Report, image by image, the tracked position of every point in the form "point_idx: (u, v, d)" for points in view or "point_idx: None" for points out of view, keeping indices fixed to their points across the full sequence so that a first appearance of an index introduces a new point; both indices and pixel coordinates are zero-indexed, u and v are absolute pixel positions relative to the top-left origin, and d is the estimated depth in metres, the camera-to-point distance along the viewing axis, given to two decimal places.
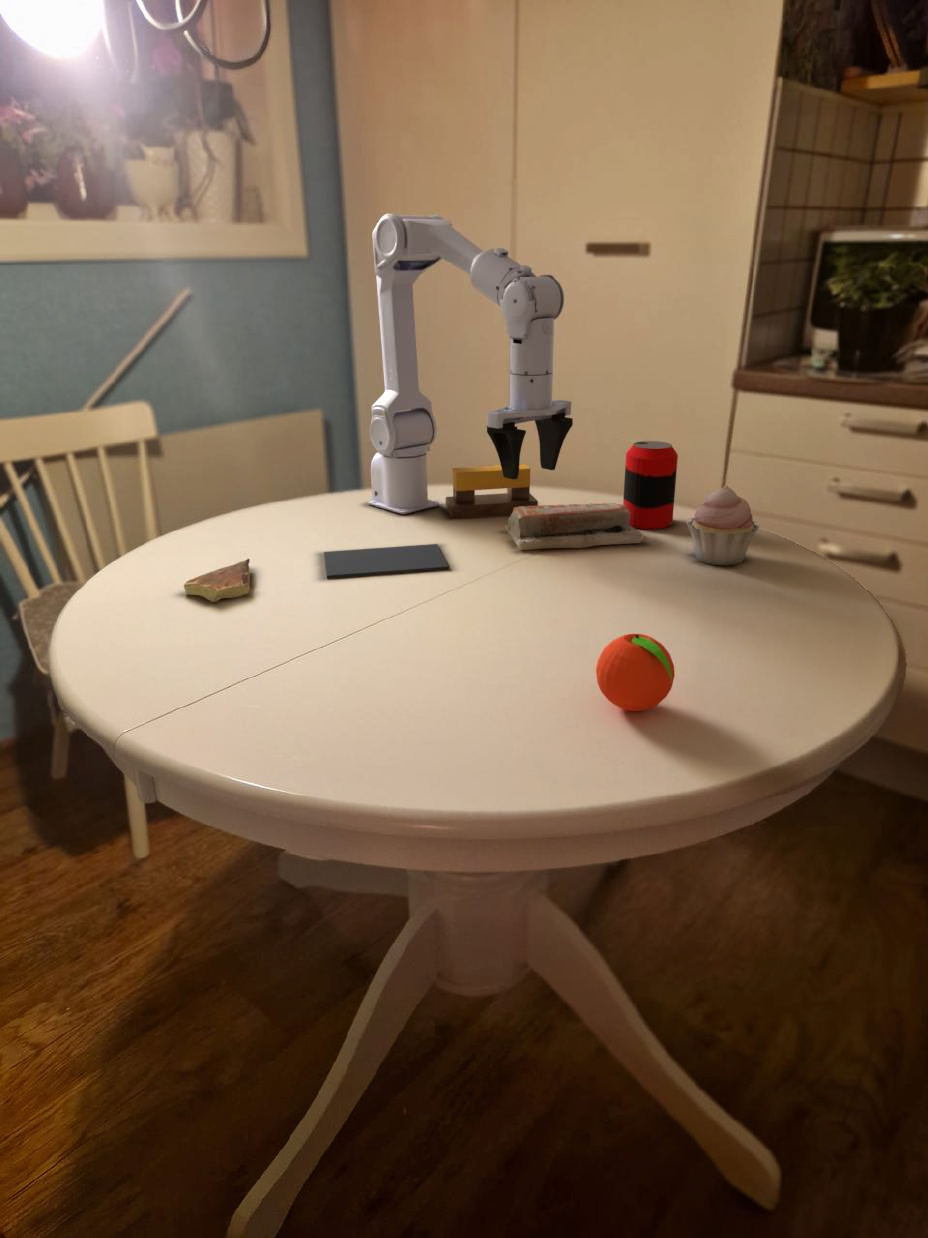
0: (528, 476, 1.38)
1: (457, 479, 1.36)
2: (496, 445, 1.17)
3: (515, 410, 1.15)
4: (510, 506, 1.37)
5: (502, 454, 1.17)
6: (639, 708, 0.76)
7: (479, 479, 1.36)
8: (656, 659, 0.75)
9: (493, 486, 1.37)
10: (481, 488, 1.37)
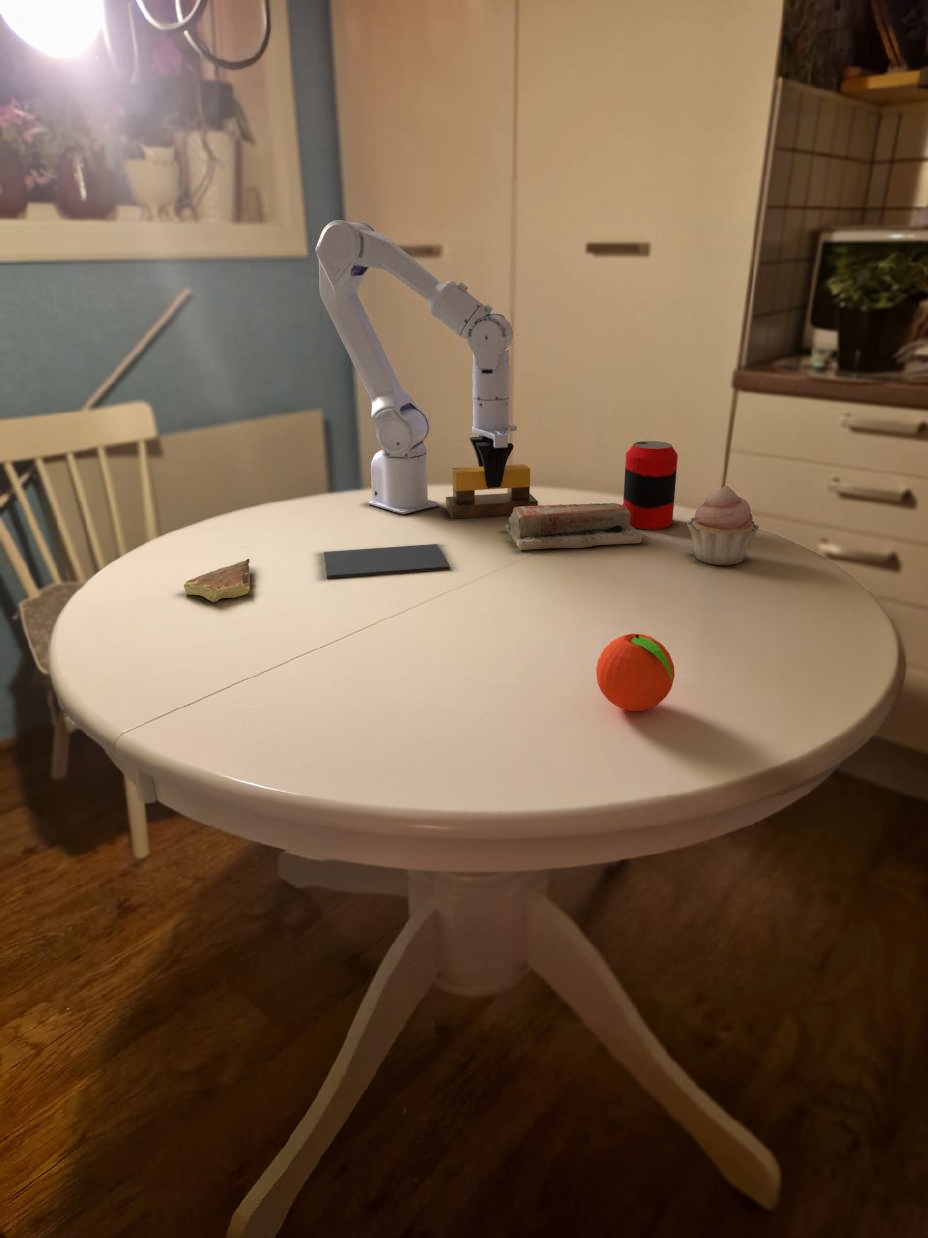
0: (528, 476, 1.38)
1: (457, 479, 1.36)
2: (487, 461, 1.34)
3: (496, 430, 1.32)
4: (510, 506, 1.37)
5: (488, 467, 1.35)
6: (639, 708, 0.76)
7: (479, 479, 1.36)
8: (656, 659, 0.75)
9: None
10: (481, 488, 1.37)
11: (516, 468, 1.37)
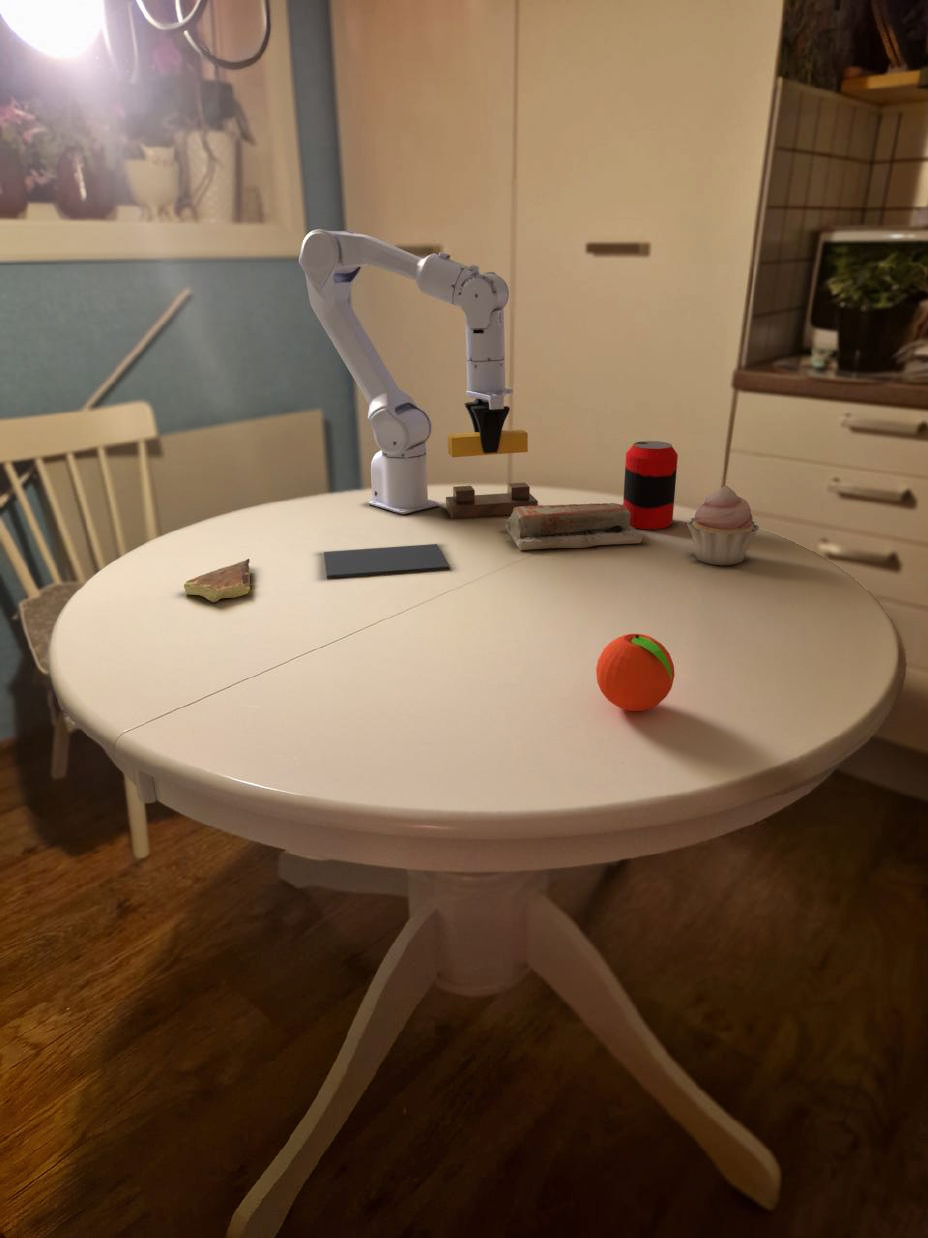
0: (525, 441, 1.34)
1: (452, 445, 1.32)
2: (482, 425, 1.30)
3: (492, 393, 1.28)
4: (510, 506, 1.37)
5: (484, 432, 1.31)
6: (639, 708, 0.76)
7: (475, 444, 1.32)
8: (656, 659, 0.75)
9: None
10: (477, 454, 1.33)
11: (513, 433, 1.33)
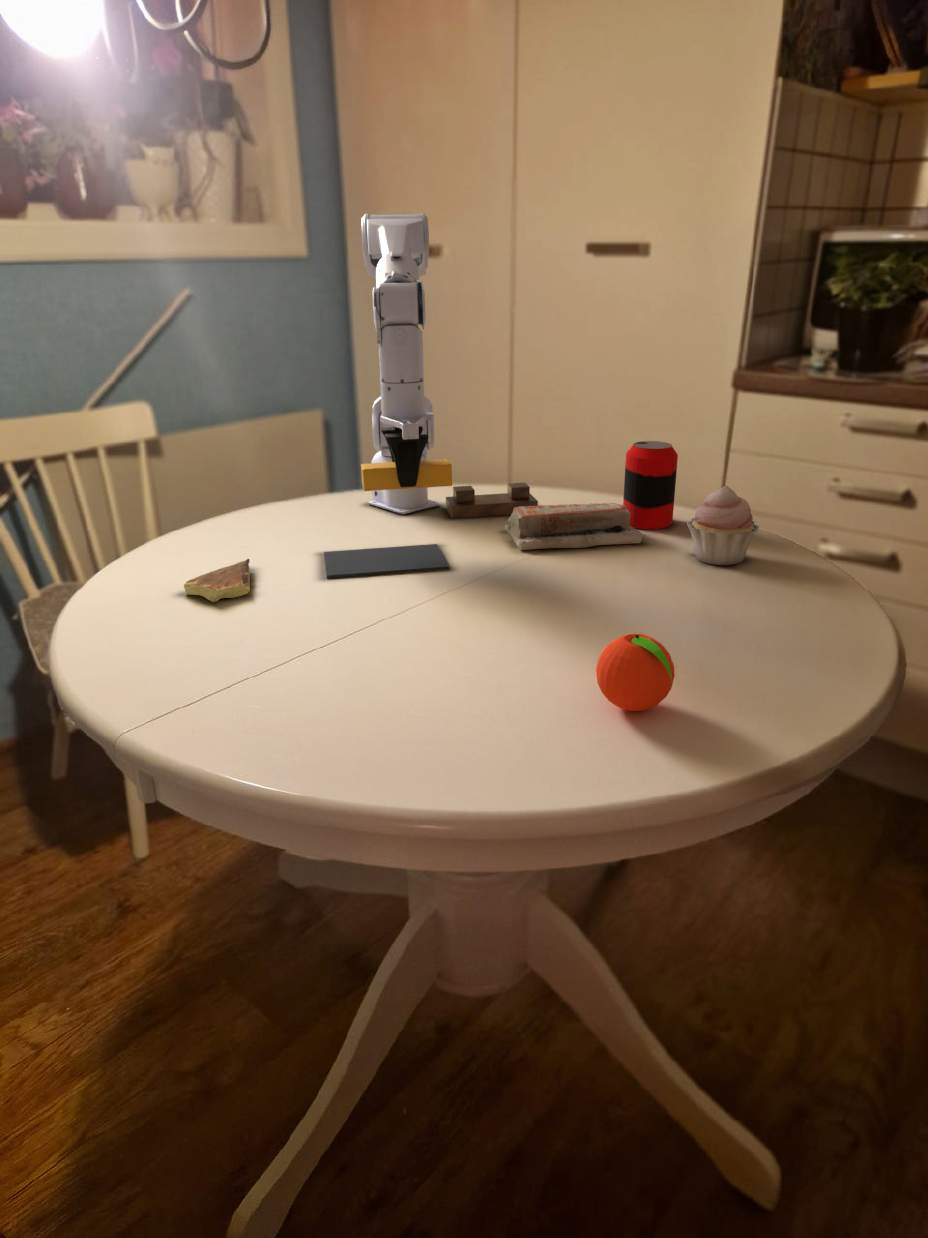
0: (449, 473, 1.17)
1: (365, 477, 1.15)
2: (397, 455, 1.13)
3: (408, 419, 1.12)
4: (510, 506, 1.37)
5: (399, 463, 1.14)
6: (639, 708, 0.76)
7: (391, 477, 1.16)
8: (656, 659, 0.75)
9: None
10: (394, 487, 1.16)
11: (435, 464, 1.17)
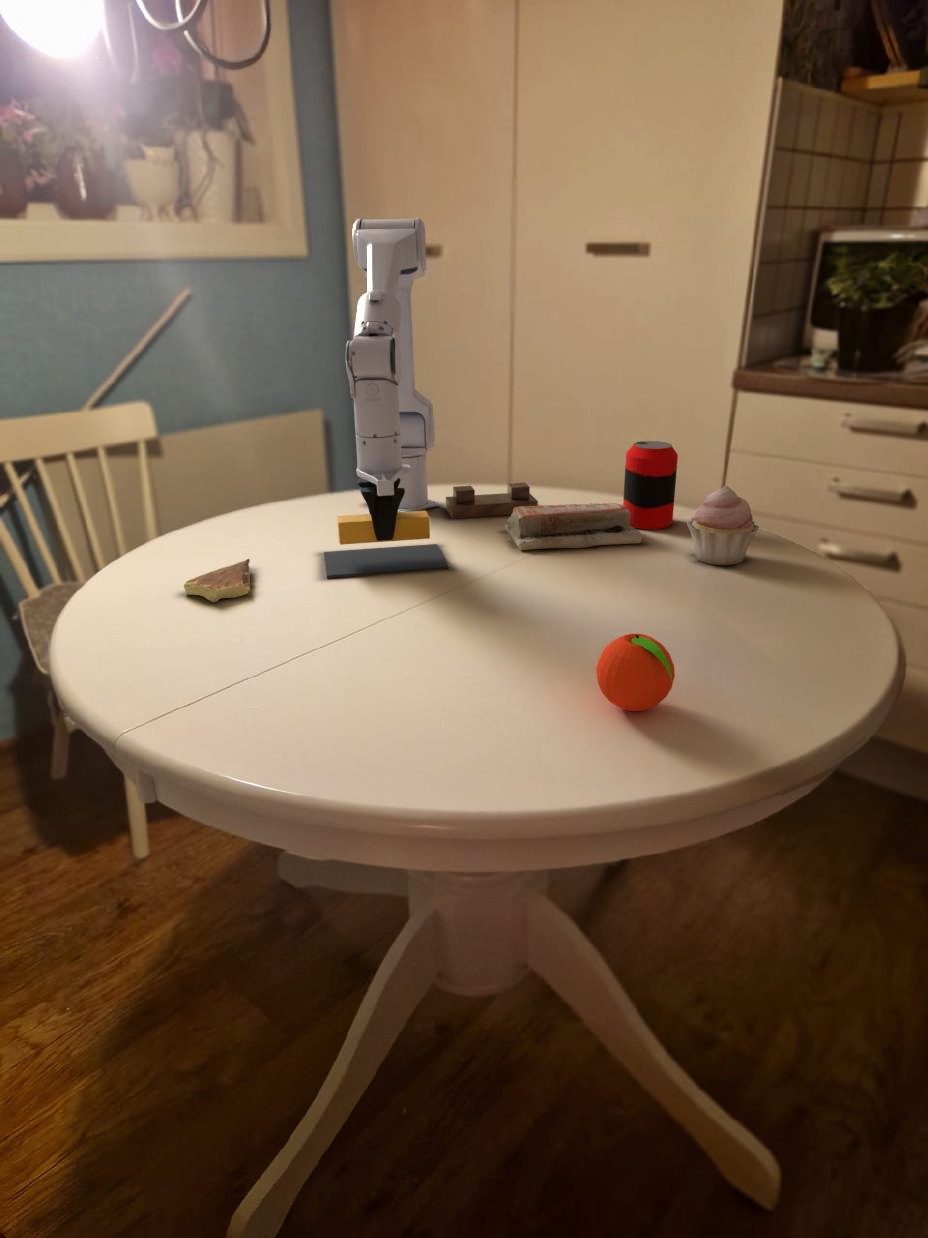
0: (427, 526, 1.15)
1: (340, 530, 1.13)
2: (373, 510, 1.11)
3: (383, 474, 1.10)
4: (510, 506, 1.37)
5: (376, 517, 1.12)
6: (639, 708, 0.76)
7: (367, 530, 1.14)
8: (656, 659, 0.75)
9: None
10: (370, 541, 1.14)
11: (412, 517, 1.15)
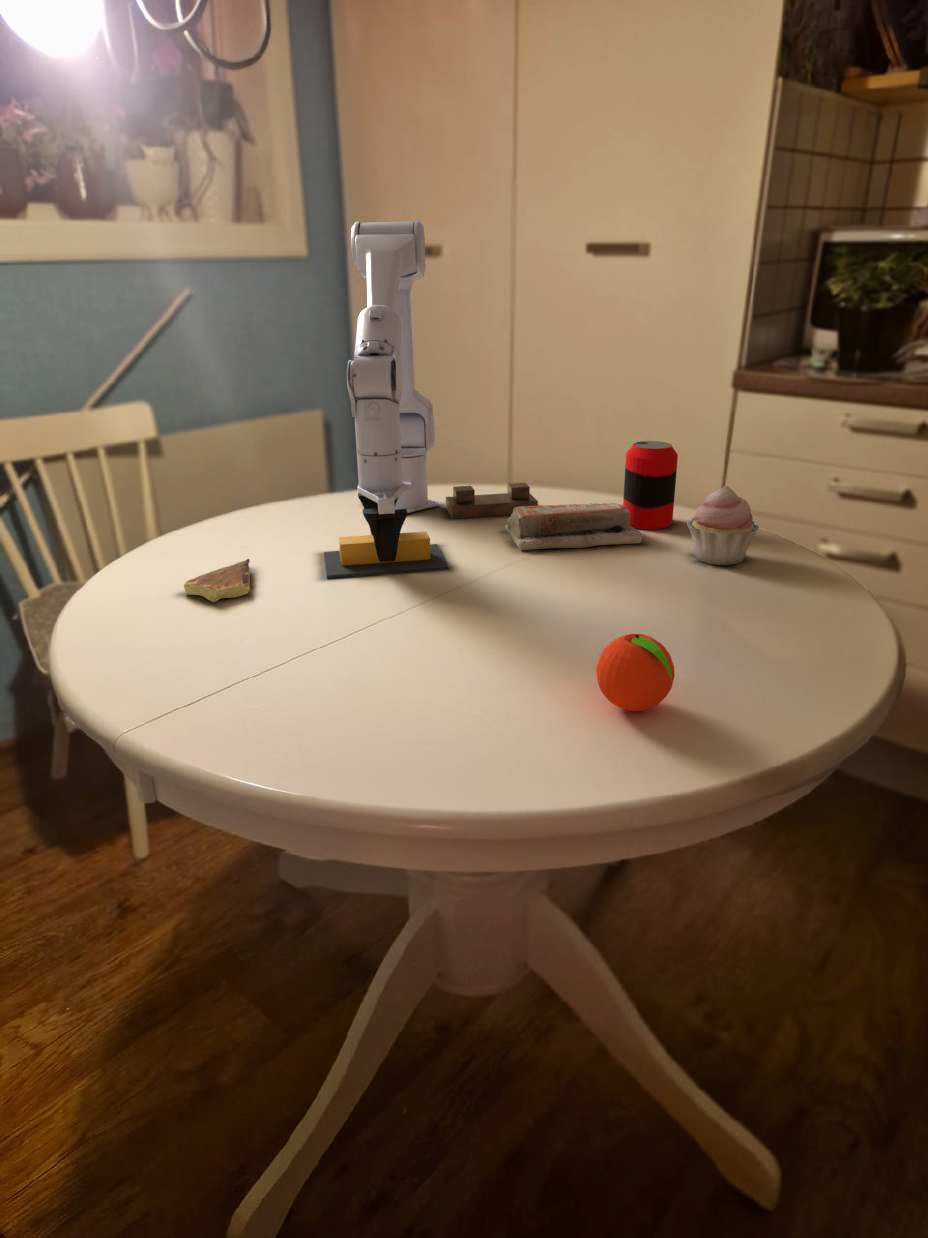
0: (428, 547, 1.16)
1: (342, 552, 1.14)
2: (375, 531, 1.10)
3: (384, 491, 1.11)
4: (510, 506, 1.37)
5: (378, 538, 1.12)
6: (639, 708, 0.76)
7: (369, 551, 1.15)
8: (656, 659, 0.75)
9: None
10: (371, 562, 1.15)
11: (413, 538, 1.16)
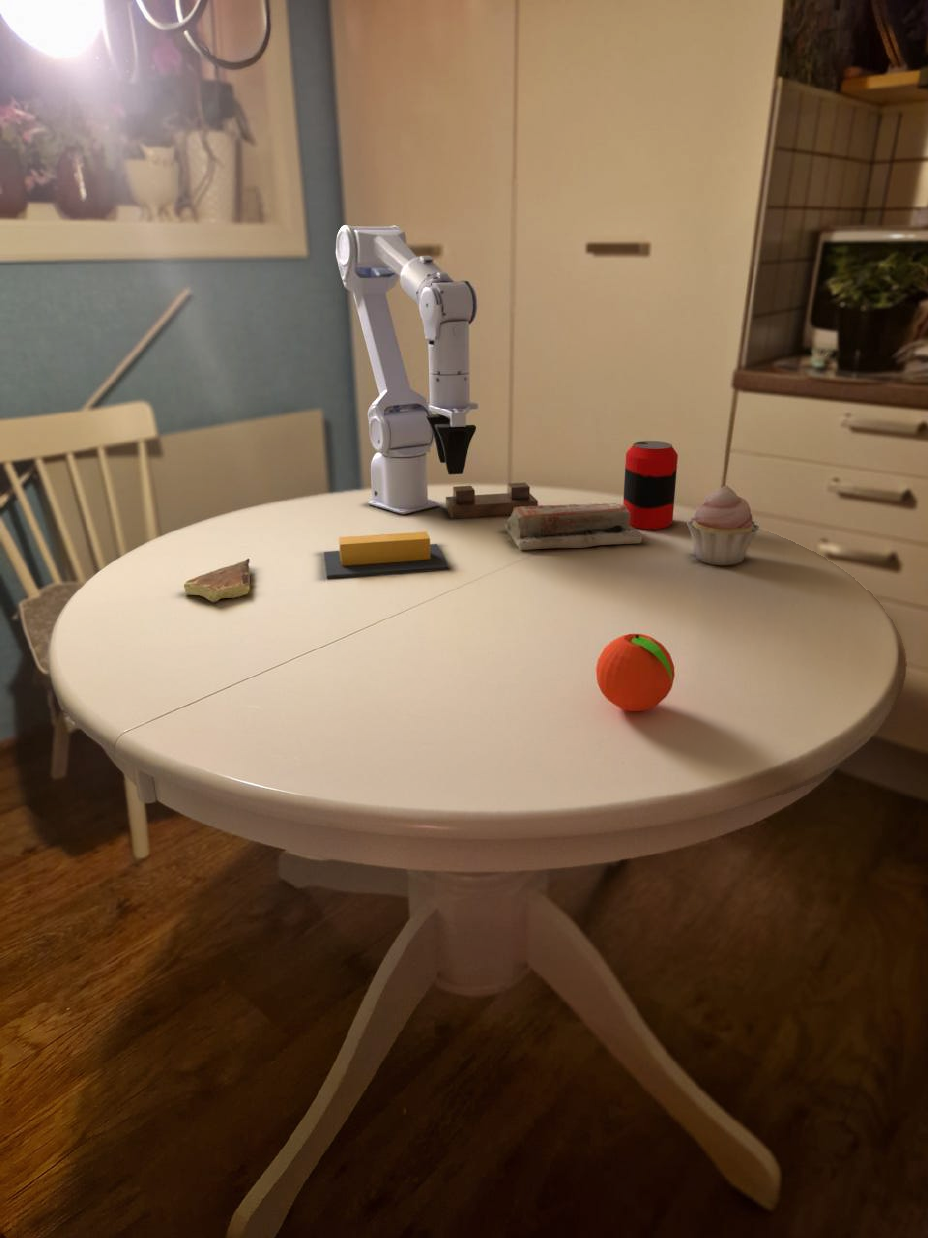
0: (428, 547, 1.16)
1: (342, 552, 1.14)
2: (447, 444, 1.21)
3: (455, 408, 1.21)
4: (510, 506, 1.37)
5: (448, 452, 1.22)
6: (639, 708, 0.76)
7: (369, 551, 1.15)
8: (656, 659, 0.75)
9: (386, 559, 1.16)
10: (371, 562, 1.15)
11: (413, 538, 1.16)
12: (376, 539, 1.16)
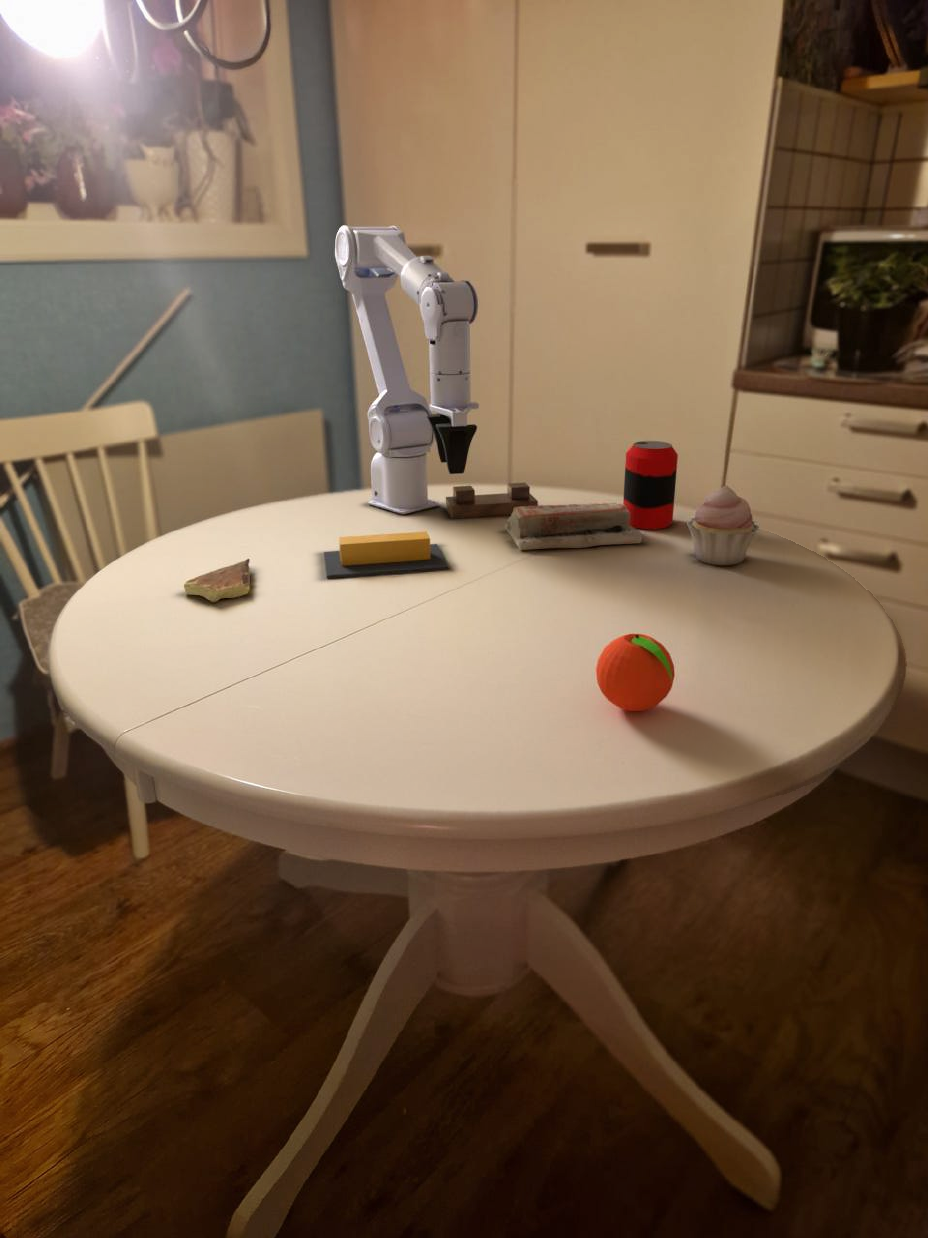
0: (428, 547, 1.16)
1: (342, 552, 1.14)
2: (448, 444, 1.21)
3: (456, 408, 1.21)
4: (510, 506, 1.37)
5: (449, 451, 1.22)
6: (639, 708, 0.76)
7: (369, 551, 1.15)
8: (656, 659, 0.75)
9: (386, 559, 1.16)
10: (371, 562, 1.15)
11: (413, 538, 1.16)
12: (376, 539, 1.16)
